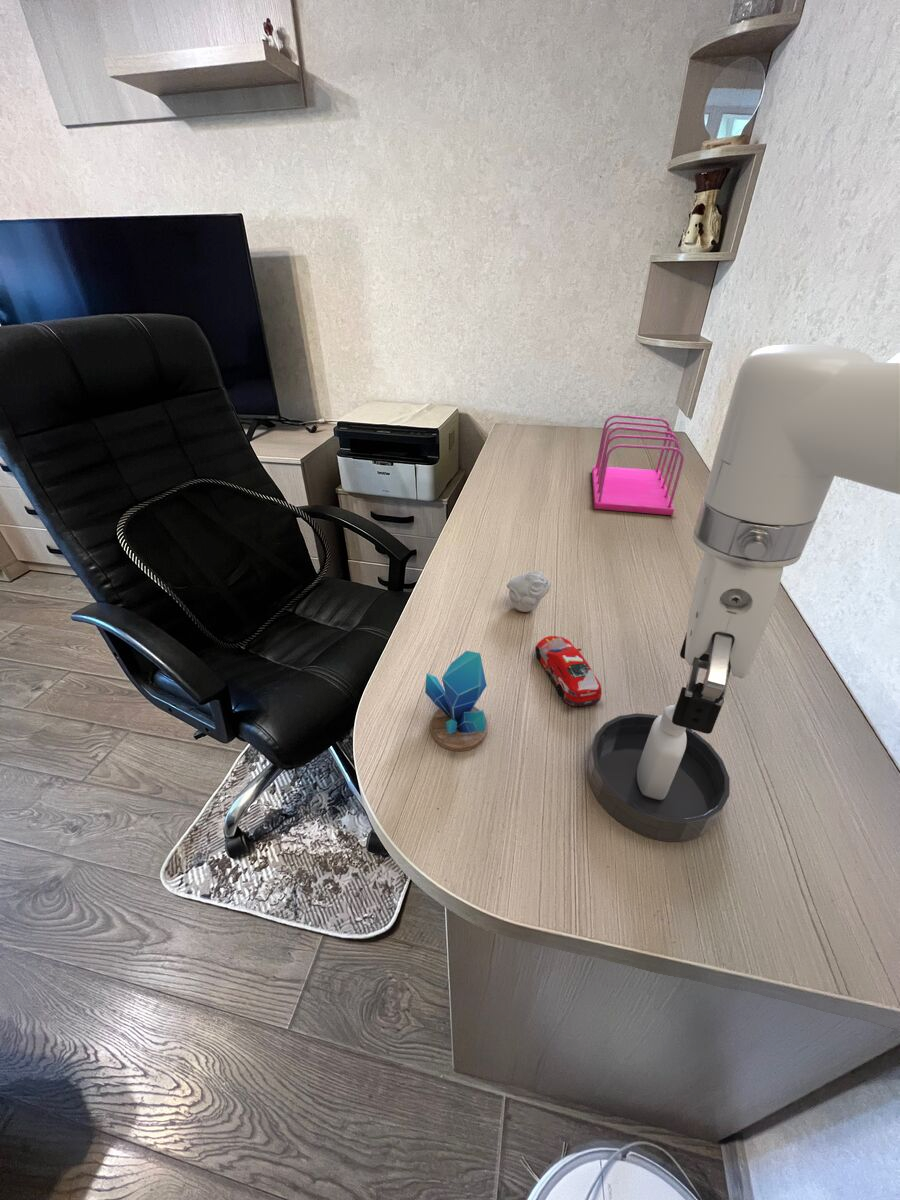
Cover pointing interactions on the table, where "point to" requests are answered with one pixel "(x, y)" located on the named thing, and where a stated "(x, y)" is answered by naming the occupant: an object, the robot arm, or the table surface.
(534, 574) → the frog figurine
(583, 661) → the race car
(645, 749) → the eye dropper bottle
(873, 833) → the table surface
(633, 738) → the pan
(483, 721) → the gemstone
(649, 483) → the file sorter
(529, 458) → the table surface
